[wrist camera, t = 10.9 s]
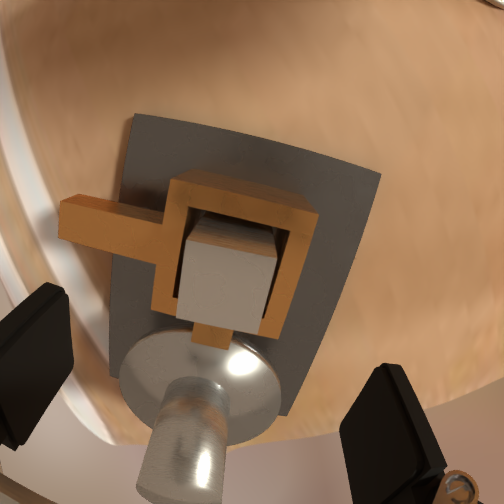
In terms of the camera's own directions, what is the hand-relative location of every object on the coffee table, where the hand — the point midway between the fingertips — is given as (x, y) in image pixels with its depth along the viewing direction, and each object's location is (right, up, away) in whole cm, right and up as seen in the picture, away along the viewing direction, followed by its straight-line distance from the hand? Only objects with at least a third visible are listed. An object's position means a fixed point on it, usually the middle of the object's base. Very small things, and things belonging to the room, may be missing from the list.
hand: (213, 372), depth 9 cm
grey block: (0, +5, +14) cm, 15 cm away
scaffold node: (-2, +1, +17) cm, 17 cm away
